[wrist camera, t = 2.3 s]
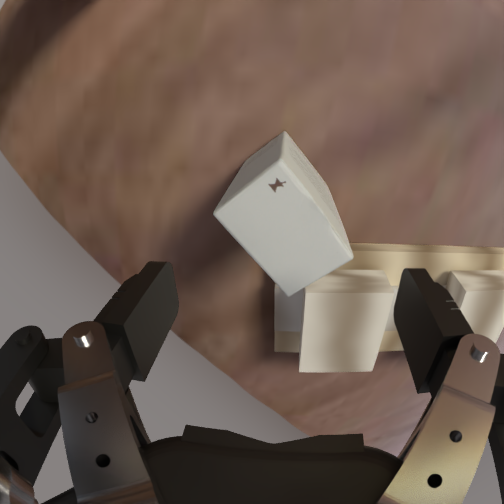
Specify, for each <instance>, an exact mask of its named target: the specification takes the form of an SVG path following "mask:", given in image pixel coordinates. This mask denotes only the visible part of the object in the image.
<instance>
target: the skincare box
mask: <svg viewBox="0 0 504 504" xmlns="http://www.w3.org/2000/svg"><path fill="white" fill-rule="evenodd" d="M213 215H214V216H215V217H216V218H217V220H218V221H219V222H220V223H221V224H222V225H223V226H224V227H225V229H226V230H227V231H228V232H229V233H230V234H231V235H232V236H233V237H234V238H235V240H236V241H237V242H238V243H239V244H240V245H241V246H242V247H243V248H244V249H245V251H246V252H247V253H248V254H249V255H250V256H251V257H252V258H253V259H254V260H255V261H256V262H257V263H258V264H259V266H260V267H261V268H262V269H263V270H264V271H265V272H266V273H267V274H268V275H269V276H270V277H271V279H272V280H273V281H274V282H275V283H276V284H277V285H278V286H279V287H280V288H281V290H282V291H283V292H284V293H285V294H286V296H288V297H289V296H291V295H293V294H294V293H296V292H298V291H299V290H301V289H303V288H305V287H306V286H308V285H310V284H312V283H313V282H315V281H317V280H318V279H320V278H322V277H324V276H325V275H327V274H329V273H330V272H332V271H334V270H335V269H337V268H339V267H340V266H342V265H344V264H345V263H347V262H349V261H351V260H352V259H353V257H354V256H353V253H352V250H351V247H350V244H349V241H348V238H347V235H346V232H345V230H344V227H343V224H342V222H341V219H340V216H339V214H338V211H337V209H336V206H335V204H334V201H333V198H332V196H331V193H330V191H329V188H328V186H327V185H326V183H325V182H324V180H323V179H322V178H321V176H320V175H319V174H318V172H317V171H316V170H315V168H314V167H313V166H312V164H311V163H310V162H309V160H308V159H307V158H306V157H305V155H304V154H303V153H302V151H301V150H300V149H299V148H298V146H297V145H296V144H295V143H294V141H293V140H292V139H291V138H290V136H289V135H288V134H287V133H286V131H284V132H282V133H281V134H280V135H278V136H277V137H275V138H274V139H273V140H271V141H270V142H269V143H267V144H266V145H265V146H264V147H262V148H261V149H260V150H258V151H257V152H256V153H255V154H253V155H252V156H251V157H250V158H248V159H247V160H246V161H245V162H244V164H243V165H242V167H241V168H240V170H239V172H238V173H237V175H236V176H235V178H234V179H233V181H232V183H231V184H230V186H229V188H228V189H227V191H226V192H225V194H224V195H223V197H222V199H221V201H220V202H219V204H218V205H217V207H216V208H215V210H214V213H213Z"/></svg>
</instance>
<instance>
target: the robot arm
mask: <svg viewBox="0 0 504 504" xmlns="http://www.w3.org/2000/svg"><path fill="white" fill-rule="evenodd" d="M178 307H179V301H178V295H177V290H176V284H175V279H174V273H173V268H172V265H171V263H170V262H154V261H150V262H148V263H147V264H146V265H145V267H144V268H143V269H142V270H141V272H140V273H139V274H135V275H134V276H132V277H131V278H129V279H128V280H126V281H125V282H124V283H123V284H122V285H121V286H120V288H119V289H118V292H116V293H115V294H114V295H113V296H112V299H110V300H109V302H108V303H107V304H106V305H105V307H104V308H103V309H102V310H101V312H100V313H99V314H98V315H97V317H96V318H95V319H94V321H86V322H81V323H78V324H76V325H74V326H72V327H71V328H70V329H68V330H67V331H66V333H65V334H64V336H63V338H54V339H45V337H44V335H43V333H42V330H41V329H40V328H39V327H37V326H26V327H23V328H21V329H19V330H17V331H16V332H14V333H13V334H12V335H11V336H10V338H9V339H8V340H7V341H6V342H5V344H4V345H3V346H2V348H1V349H0V504H38V501H37V500H36V499H35V498H34V489H33V486H34V483H35V481H36V479H37V476H38V474H39V472H40V469H41V467H42V465H43V463H44V461H45V458H46V456H47V454H48V452H49V450H50V447H51V445H52V443H53V441H54V439H55V437H56V435H57V433H58V431H59V429H60V427H61V425H62V431H63V438H64V443H65V448H66V454H67V459H68V464H69V469H70V473H71V477H72V481H73V485H74V487H73V488H71V489H69V490H67V491H65V492H64V493H61V494H60V495H57V496H55V497H54V498H52V499H50V500H48V501H46V502H44V503H41V504H462V502H463V500H464V498H465V495H466V493H467V491H468V489H469V486H470V484H471V482H472V479H473V477H474V474H475V472H476V469H477V466H478V464H479V461H480V459H481V456H482V453H483V450H484V447H485V444H486V441H487V438H488V439H489V443H490V446H491V450H492V454H493V458H494V463H495V467H496V472H497V476H498V481H499V487H500V493H501V498H502V504H504V354H500V351H499V348H498V347H497V345H496V344H495V343H494V342H493V341H492V340H491V339H489V338H488V337H486V336H483V335H480V334H474V332H473V330H472V329H471V327H470V325H469V323H468V322H467V320H466V318H465V317H464V315H463V314H462V312H461V310H459V307H458V305H457V304H456V302H454V299H453V298H452V296H451V294H450V293H449V291H448V290H447V289H445V288H444V287H443V286H442V285H440V284H439V283H438V282H434V281H433V279H432V278H431V276H430V275H429V273H428V272H427V270H426V269H425V268H405V269H404V270H403V272H402V275H401V279H400V284H399V288H398V292H397V296H396V301H395V305H394V313H393V315H394V323H395V326H396V329H397V331H398V334H399V337H400V340H401V343H402V346H403V349H404V352H405V355H406V358H407V361H408V364H409V367H410V370H411V374H412V377H413V380H414V383H415V387H416V390H417V394H419V393H427V392H430V393H431V396H432V398H431V399H430V401H429V403H428V405H427V407H426V409H425V411H424V413H423V414H422V416H421V418H420V420H419V422H418V424H417V426H416V427H415V429H414V431H413V433H412V434H411V436H410V438H409V440H408V441H407V443H406V445H405V446H404V448H403V449H402V451H401V452H400V454H399V455H398V457H396V456H394V455H392V454H390V453H388V452H385V451H383V450H380V449H377V448H373V447H370V446H364V441H363V434H346V435H318V436H314V437H309V438H304V439H300V440H294V441H288V442H283V443H276V444H271V443H266V442H263V441H259V440H256V439H253V438H250V437H246V436H243V435H240V434H237V433H234V432H231V431H228V430H220V429H219V430H218V429H212V428H204V427H197V426H191V425H186V426H185V429H184V432H183V435H182V436H176V437H170V438H165V439H161V440H157V441H155V442H152V443H151V441H150V439H149V437H148V435H147V433H146V430H145V428H144V425H143V423H142V420H141V418H140V415H139V412H138V410H137V407H136V404H135V402H134V399H133V396H132V393H131V391H130V388H129V384H130V382H131V380H137V381H144V382H145V380H146V378H147V375H148V374H149V371H150V369H151V367H152V365H153V363H154V361H155V359H156V357H157V355H158V353H159V351H160V348H161V347H162V344H163V343H164V340H165V338H166V336H167V334H168V332H169V330H170V328H171V326H172V324H173V322H174V320H175V318H176V316H177V313H178ZM27 382H29V384H30V385H31V387H32V388H33V390H34V393H33V395H32V396H31V398H30V400H29V401H28V403H27V405H26V406H25V408H24V410H23V411H22V413H21V415H20V417H19V416H18V414H17V412H16V408H15V404H16V400H17V398H18V396H19V395H20V393H21V392H22V390H23V389H24V387H25V385H26V384H27Z"/></svg>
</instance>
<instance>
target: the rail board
mask: <svg viewBox="0 0 504 504" xmlns="http://www.w3.org/2000/svg"><path fill="white" fill-rule="evenodd" d="M349 244H350V247H351V250H352V253H353V256H354V257H353V259H352V260H351V261H349V262H347V263H345V264H344V265H342V266H340V267H339V268H337V269H335V270H334V271H332V272H330V273H329V274H327V275H325V276H324V277H322V278H320V279H318V280H317V281H315V282H313V283H312V284H310V285H308V286H306V287H305V288H303V289H301V290H299V291H298V292H296V293H294V294H293V295H291V296H289V297H288V296H286V294H285V293H284V292H283V291H282V290H281V288H280V287H279V286H278V285H277V284H276V283H275V317H274V331H275V346H274V352H299V372H361V371H372V370H373V367H374V364H375V361H376V358H377V354H378V352H381V351H401V350H404V349H403V346H402V343H401V340H400V337H399V334H398V331H397V329H396V326H395V323H394V315H393V313H394V305H395V301H396V296H397V292H398V288H399V284H400V279H401V275H402V272H403V270H404V269H405V268H425V269H426V270H427V272H428V273H429V275H430V276H431V278H432V279H433V281H434V282H438V283H439V284H440V285H442V286H443V287H444V288H445V289H447V290H448V291H449V293H450V294H451V296H452V298H453V299H454V302H456V304H457V305H458V307H459V310H461V312H462V314H463V315H464V317H465V318H466V320H467V322H468V323H469V325H470V327H471V329H472V330H473V332H474V334H480V335H483V336H486V337H488V338H489V339H491V340H492V341H493V342H494V343H496V341H497V339H498V337H499V335H500V333H501V331H502V329H503V327H504V248H496V247H469V246H439V245H406V244H370V243H349Z"/></svg>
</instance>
